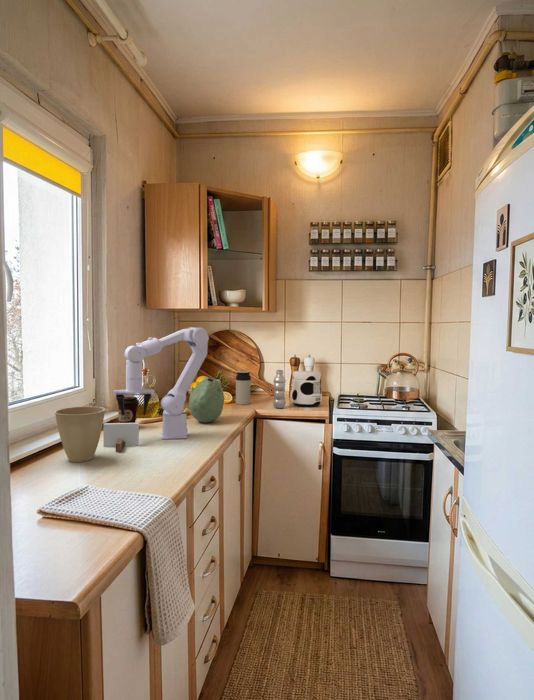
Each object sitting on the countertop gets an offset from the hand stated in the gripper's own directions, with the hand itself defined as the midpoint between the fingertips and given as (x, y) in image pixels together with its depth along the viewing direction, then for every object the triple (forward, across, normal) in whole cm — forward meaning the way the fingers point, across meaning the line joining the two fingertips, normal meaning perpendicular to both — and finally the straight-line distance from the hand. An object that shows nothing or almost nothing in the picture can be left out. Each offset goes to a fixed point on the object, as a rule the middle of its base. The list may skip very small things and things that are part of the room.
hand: (133, 414), depth 176 cm
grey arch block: (+10, +4, +6) cm, 12 cm away
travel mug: (+10, -52, -75) cm, 92 cm away
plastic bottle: (+10, -69, -60) cm, 92 cm away
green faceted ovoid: (+10, -29, -30) cm, 43 cm away
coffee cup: (+10, +4, -21) cm, 24 cm away
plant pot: (+10, +15, +21) cm, 28 cm away
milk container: (+10, -86, -68) cm, 110 cm away
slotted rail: (+10, +4, +6) cm, 12 cm away
